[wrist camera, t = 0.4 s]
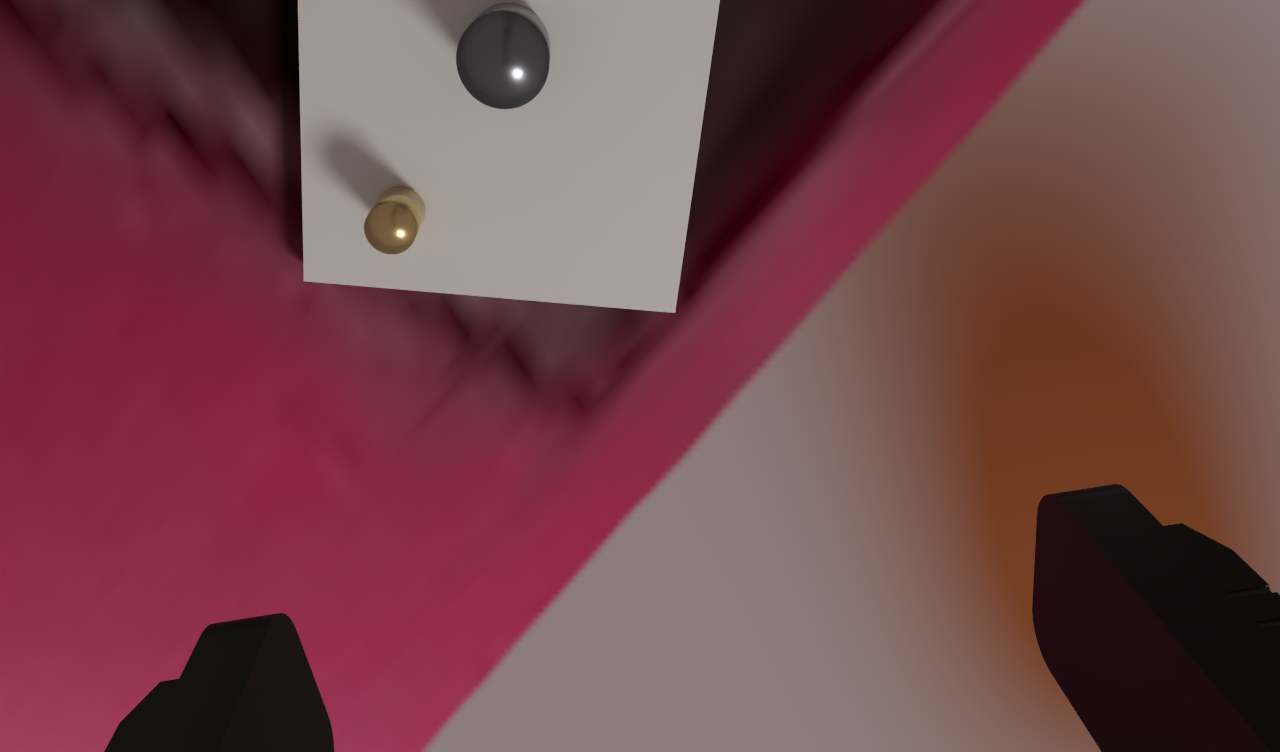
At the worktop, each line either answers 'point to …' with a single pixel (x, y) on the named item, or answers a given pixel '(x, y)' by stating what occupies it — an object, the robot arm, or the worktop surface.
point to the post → (504, 56)
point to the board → (506, 150)
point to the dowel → (395, 220)
